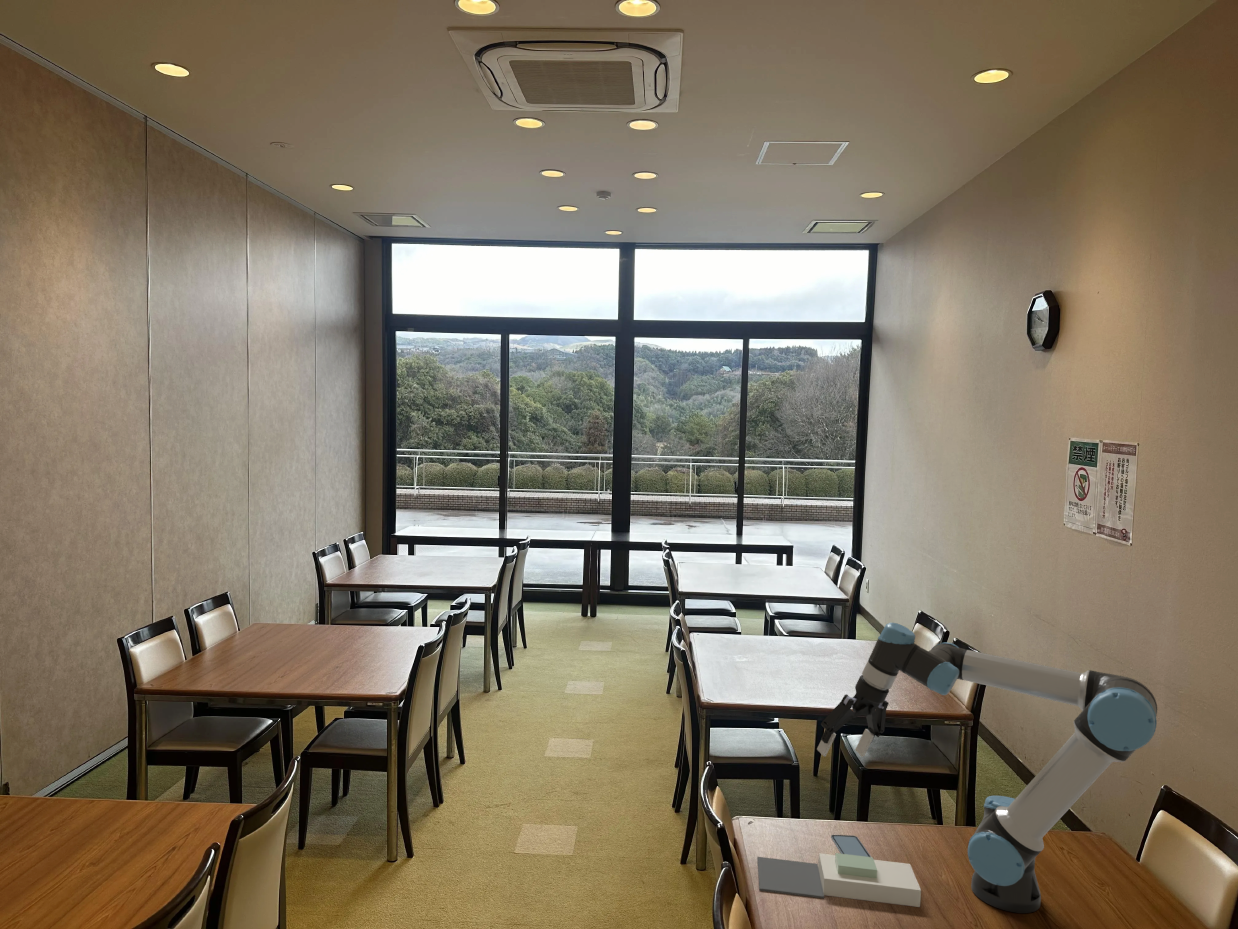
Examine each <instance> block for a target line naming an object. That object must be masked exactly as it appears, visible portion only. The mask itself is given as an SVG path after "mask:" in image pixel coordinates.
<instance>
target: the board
mask: <svg viewBox="0 0 1238 929" xmlns="http://www.w3.org/2000/svg"><path fill="white" fill-rule="evenodd" d="M874 862H875V865H876V868H877V878H870V877H861V876H853V875H845V874H838V872H837V868H836V864H835V854H829V853H828V854H827V853H821V852H819V853H818V863H817V864H818V868H819V873H820V878H821V883H822V888H823V893H824V896H829V897H835V898H844V899H850V900H851V899H852V900H853V899H854V900H859V901H869V902H876V903H882V904H883V903H884V904H892V905H899V906H900V905H901V906H909V907H917V908H921V898H922V895H921V894H922V890H921V886H920V884H919V882H918V880H917V877H916V874H915V873H914V870H913V867H912V865H911V864H910V863H904V862H896V861H890V860H889V861H888V860H880V859H874Z"/></svg>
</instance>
